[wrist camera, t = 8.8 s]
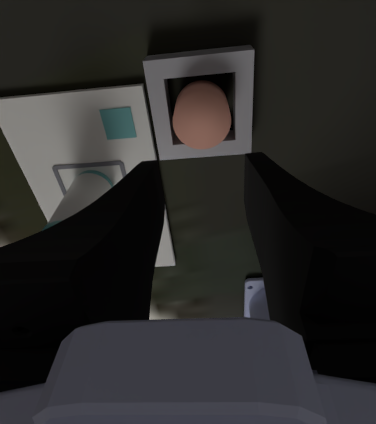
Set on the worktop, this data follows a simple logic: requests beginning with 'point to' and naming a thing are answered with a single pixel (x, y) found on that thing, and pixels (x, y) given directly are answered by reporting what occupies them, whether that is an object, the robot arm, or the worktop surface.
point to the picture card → (80, 141)
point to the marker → (80, 195)
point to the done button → (201, 115)
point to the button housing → (194, 66)
